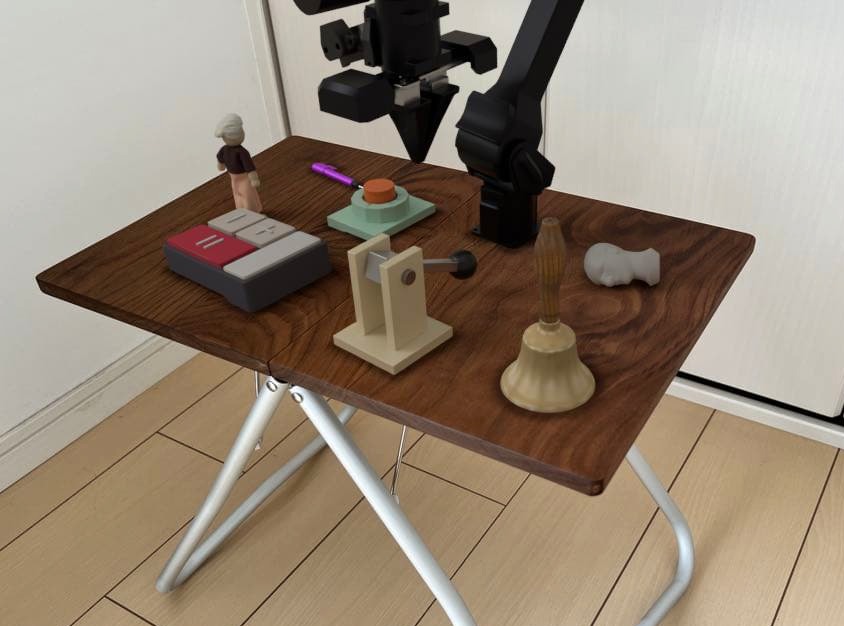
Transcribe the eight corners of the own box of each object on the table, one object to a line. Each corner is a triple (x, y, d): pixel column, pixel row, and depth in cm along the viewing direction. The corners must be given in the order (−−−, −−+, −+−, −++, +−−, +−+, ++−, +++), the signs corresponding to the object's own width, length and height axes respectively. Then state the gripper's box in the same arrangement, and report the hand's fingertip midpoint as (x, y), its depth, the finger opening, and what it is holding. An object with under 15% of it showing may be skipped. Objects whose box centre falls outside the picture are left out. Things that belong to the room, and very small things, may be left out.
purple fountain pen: (309, 171, 115) (391, 207, 106) (310, 162, 114) (392, 197, 106) (325, 169, 117) (407, 205, 108) (326, 161, 116) (408, 195, 107)
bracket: (393, 309, 87) (384, 220, 81) (453, 337, 83) (448, 245, 77) (334, 345, 83) (320, 253, 77) (394, 377, 78) (384, 282, 72)
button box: (387, 196, 108) (385, 173, 106) (435, 213, 104) (434, 189, 102) (328, 225, 102) (324, 202, 100) (376, 245, 98) (373, 221, 96)
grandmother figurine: (284, 219, 104) (265, 114, 96) (262, 232, 101) (241, 125, 94) (237, 206, 107) (215, 103, 99) (214, 218, 105) (190, 114, 97)
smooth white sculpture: (576, 293, 91) (594, 258, 93) (651, 308, 88) (667, 272, 90) (573, 263, 87) (591, 228, 90) (650, 279, 84) (667, 242, 86)
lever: (456, 274, 89) (463, 245, 88) (479, 283, 87) (486, 254, 86) (360, 279, 78) (366, 246, 77) (384, 289, 77) (390, 256, 75)
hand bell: (569, 426, 72) (578, 255, 62) (483, 396, 76) (478, 229, 66) (610, 374, 78) (625, 209, 68) (528, 348, 81) (531, 187, 71)
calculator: (241, 202, 99) (327, 234, 91) (249, 237, 102) (334, 271, 93) (158, 238, 93) (242, 276, 85) (169, 274, 96) (251, 314, 87)
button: (380, 189, 103) (378, 175, 102) (402, 197, 101) (400, 183, 100) (358, 200, 101) (356, 186, 100) (380, 208, 99) (378, 194, 98)
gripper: (412, -40, 86) (422, 116, 96) (264, 2, 75) (292, 173, 85) (500, -26, 80) (501, 139, 90) (353, 22, 69) (372, 204, 79)
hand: (418, 162), depth 86 cm, fingers closed
